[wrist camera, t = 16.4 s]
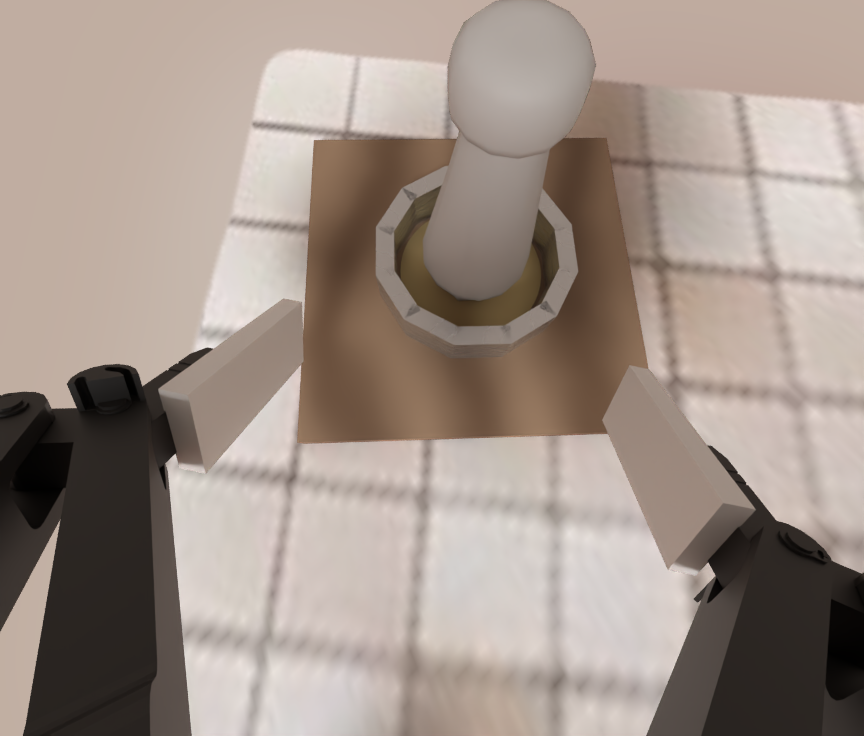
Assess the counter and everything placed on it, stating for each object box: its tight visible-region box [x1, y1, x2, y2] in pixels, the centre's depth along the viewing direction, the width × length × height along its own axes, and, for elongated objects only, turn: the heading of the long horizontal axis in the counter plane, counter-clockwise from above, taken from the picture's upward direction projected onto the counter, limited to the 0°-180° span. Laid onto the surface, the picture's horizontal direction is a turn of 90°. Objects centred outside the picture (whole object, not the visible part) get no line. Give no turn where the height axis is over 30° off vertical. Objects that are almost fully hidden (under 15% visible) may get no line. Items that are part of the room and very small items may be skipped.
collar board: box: [297, 138, 648, 444], centre depth 22 cm, size 20×20×4 cm
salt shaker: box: [423, 0, 596, 301], centre depth 16 cm, size 6×6×13 cm
